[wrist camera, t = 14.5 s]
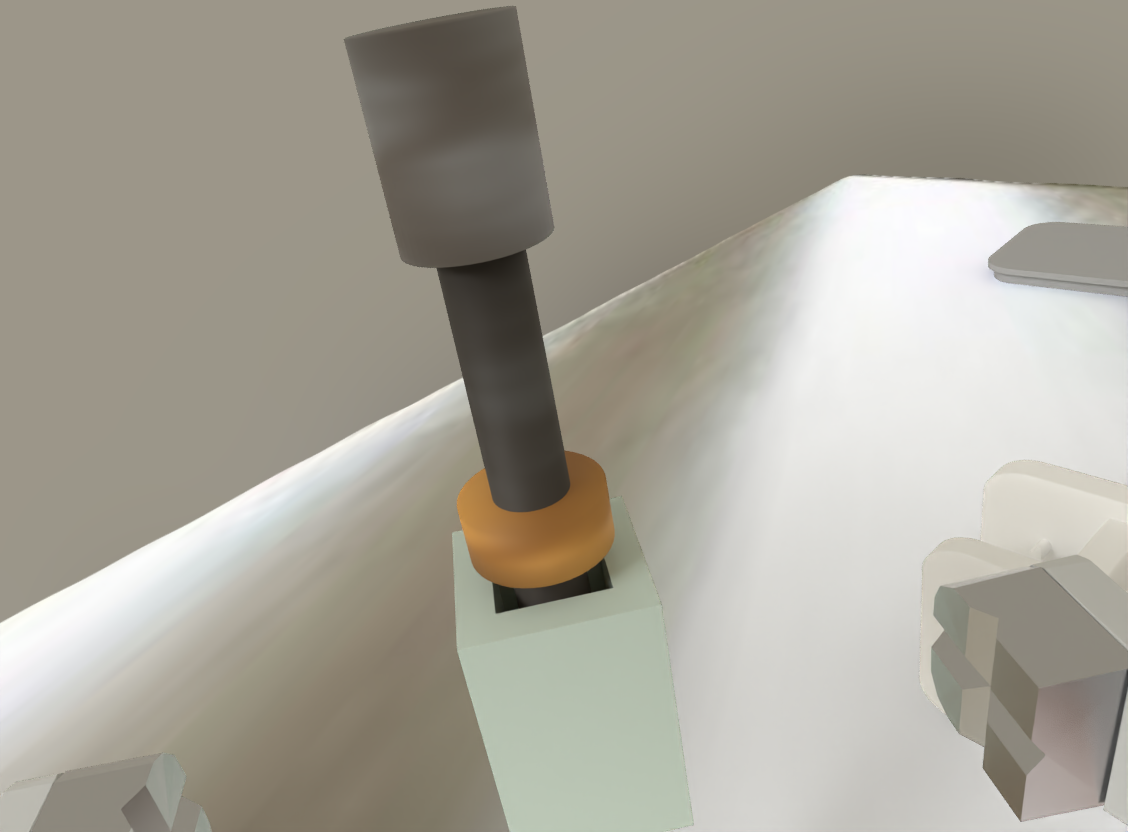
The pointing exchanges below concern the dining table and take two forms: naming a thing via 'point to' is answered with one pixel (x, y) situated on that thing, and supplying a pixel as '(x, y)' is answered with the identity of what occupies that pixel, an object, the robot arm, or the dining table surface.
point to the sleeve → (576, 697)
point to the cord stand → (485, 281)
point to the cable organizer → (1029, 536)
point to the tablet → (1066, 258)
